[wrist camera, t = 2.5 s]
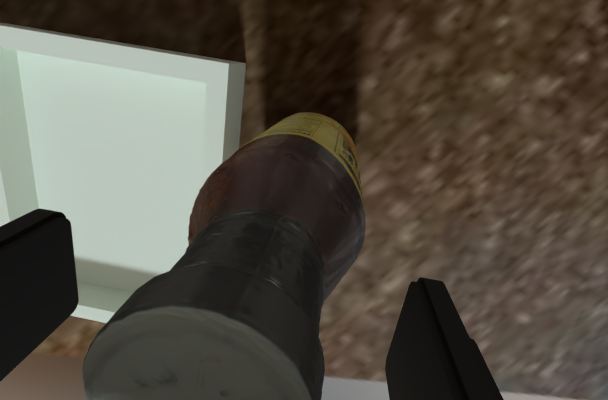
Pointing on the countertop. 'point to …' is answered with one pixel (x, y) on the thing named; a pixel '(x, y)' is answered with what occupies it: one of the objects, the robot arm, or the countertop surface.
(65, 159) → the tray
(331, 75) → the countertop surface
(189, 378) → the sauce bottle
